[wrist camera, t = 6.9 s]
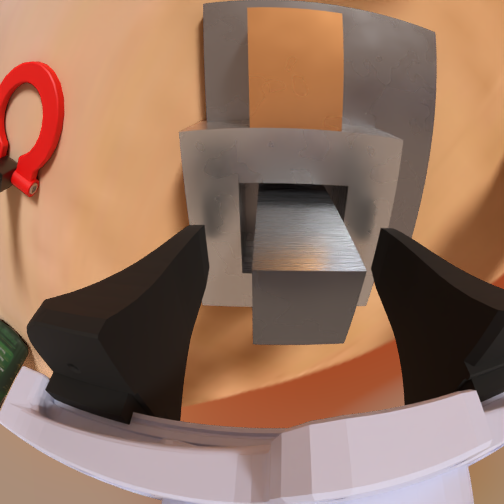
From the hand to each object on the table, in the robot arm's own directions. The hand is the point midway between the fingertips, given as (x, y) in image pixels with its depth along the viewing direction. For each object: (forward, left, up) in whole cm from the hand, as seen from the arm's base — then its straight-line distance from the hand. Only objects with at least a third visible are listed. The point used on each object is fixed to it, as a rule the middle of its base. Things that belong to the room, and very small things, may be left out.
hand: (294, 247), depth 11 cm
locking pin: (0, 0, -4) cm, 4 cm away
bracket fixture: (-2, -3, -5) cm, 6 cm away
